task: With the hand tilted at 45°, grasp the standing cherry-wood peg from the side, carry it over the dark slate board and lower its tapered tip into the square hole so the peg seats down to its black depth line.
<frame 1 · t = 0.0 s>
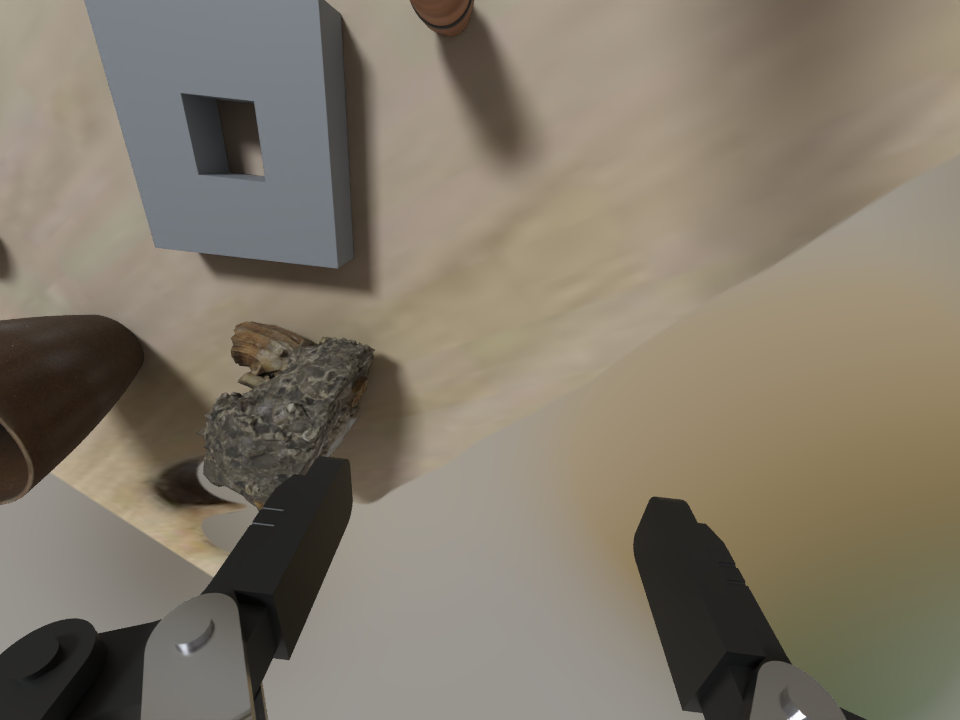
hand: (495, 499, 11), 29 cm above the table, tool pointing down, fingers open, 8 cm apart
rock: (316, 368, 44), on the table
slate socket board: (254, 140, 33), on the table
plant pot: (113, 344, 44), on the table
cherry peg: (449, 8, 28), on the table
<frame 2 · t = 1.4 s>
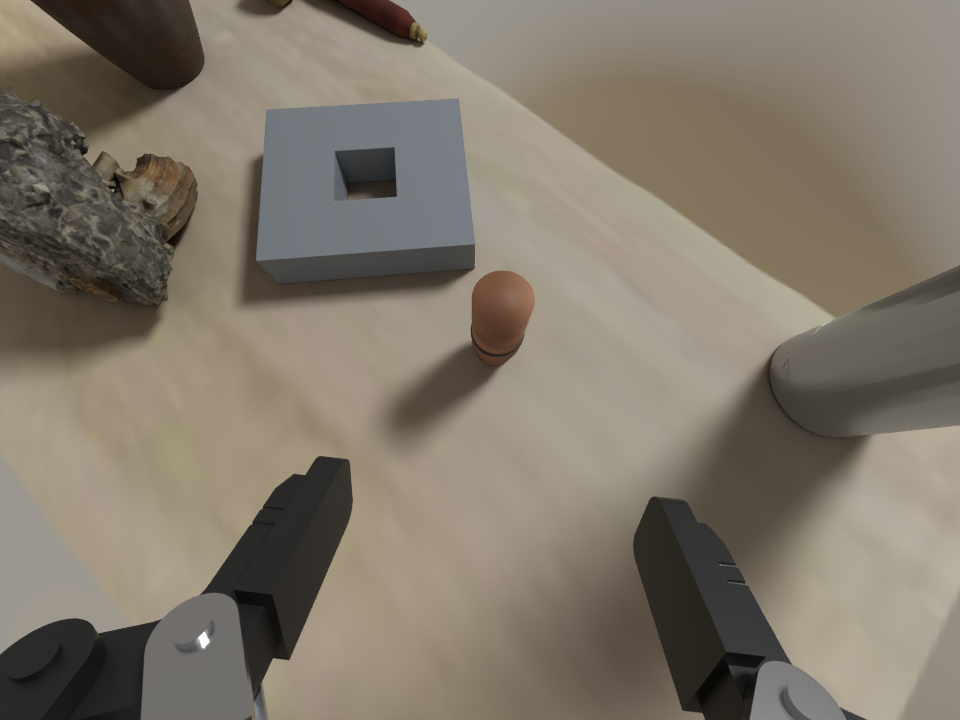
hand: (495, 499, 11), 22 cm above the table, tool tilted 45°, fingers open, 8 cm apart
gavel: (355, 12, 47), on the table
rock: (142, 248, 37), on the table
slate socket board: (375, 203, 39), on the table
plant pot: (171, 67, 43), on the table
cherry peg: (494, 348, 35), on the table
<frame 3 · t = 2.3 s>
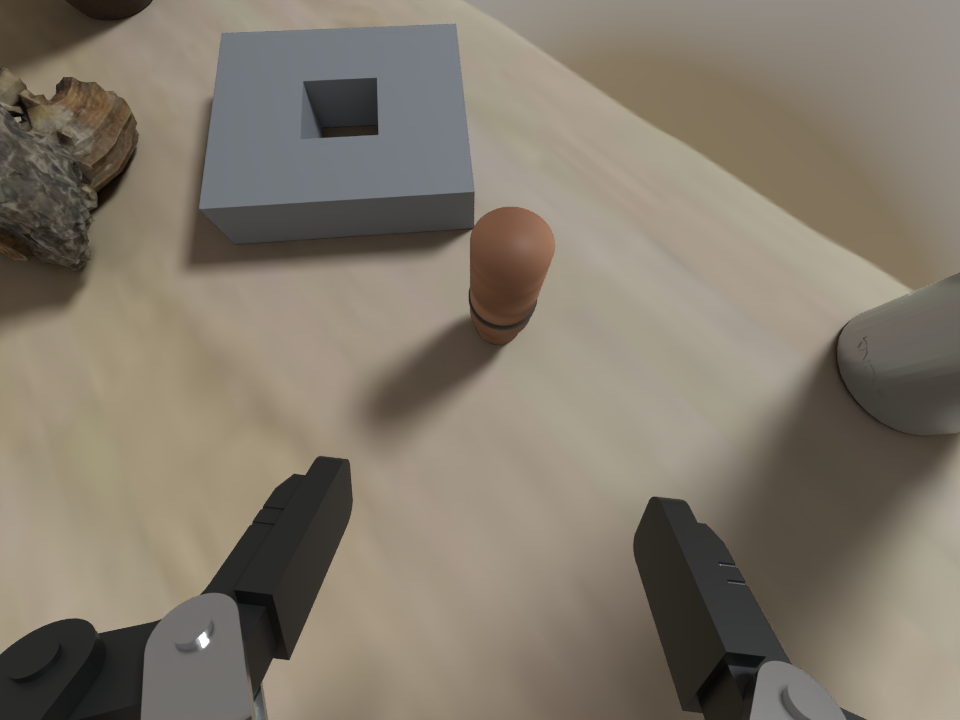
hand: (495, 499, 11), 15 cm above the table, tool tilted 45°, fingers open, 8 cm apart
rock: (69, 201, 30), on the table
slate socket board: (355, 151, 32), on the table
cherry peg: (498, 323, 28), on the table
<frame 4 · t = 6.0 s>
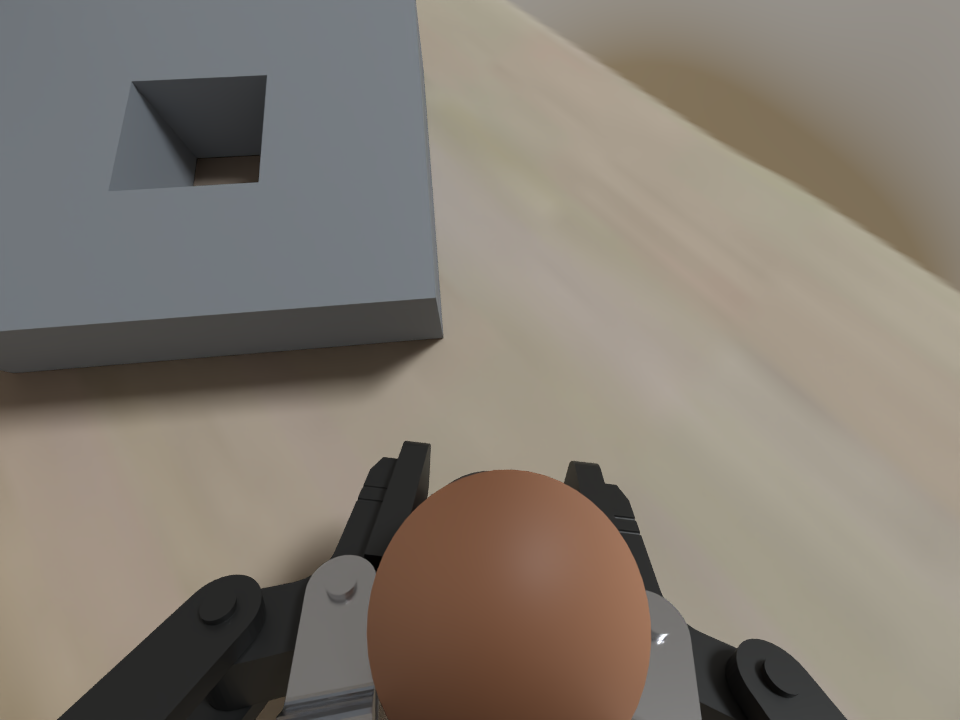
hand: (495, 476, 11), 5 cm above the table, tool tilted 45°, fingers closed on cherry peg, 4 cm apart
slate socket board: (247, 199, 19), on the table
cherry peg: (483, 529, 15), on the table, touching gripper
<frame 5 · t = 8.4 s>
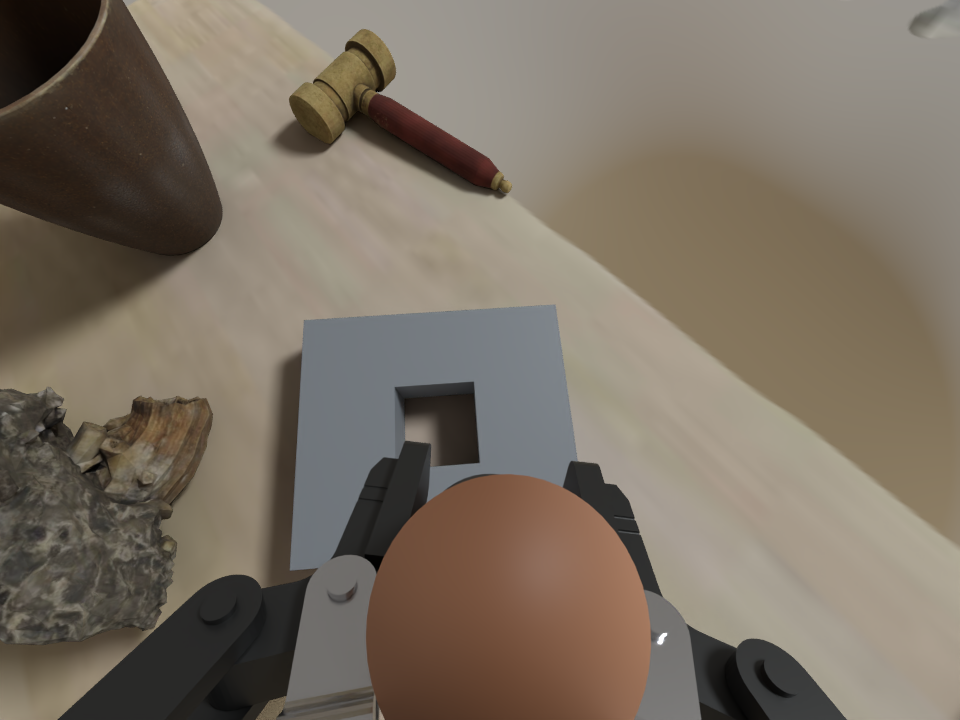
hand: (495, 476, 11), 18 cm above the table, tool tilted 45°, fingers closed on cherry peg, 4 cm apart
gavel: (418, 148, 38), on the table
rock: (137, 492, 28), on the table
slate socket board: (440, 430, 30), on the table
plant pot: (181, 222, 35), on the table
cherry peg: (484, 531, 15), point 14 cm above the table, touching gripper
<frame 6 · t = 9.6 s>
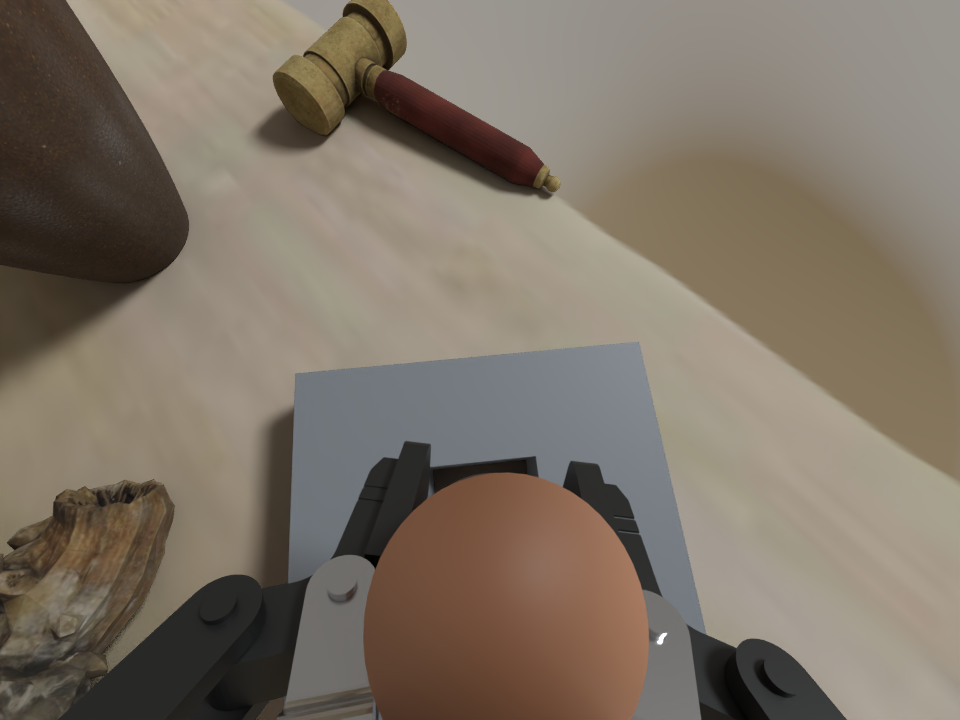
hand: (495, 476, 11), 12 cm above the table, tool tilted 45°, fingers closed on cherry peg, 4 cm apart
gavel: (438, 138, 30), on the table
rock: (73, 614, 21), on the table
slate socket board: (484, 514, 22), on the table
plant pot: (137, 239, 27), on the table
cherry peg: (484, 531, 15), point 7 cm above the table, touching gripper
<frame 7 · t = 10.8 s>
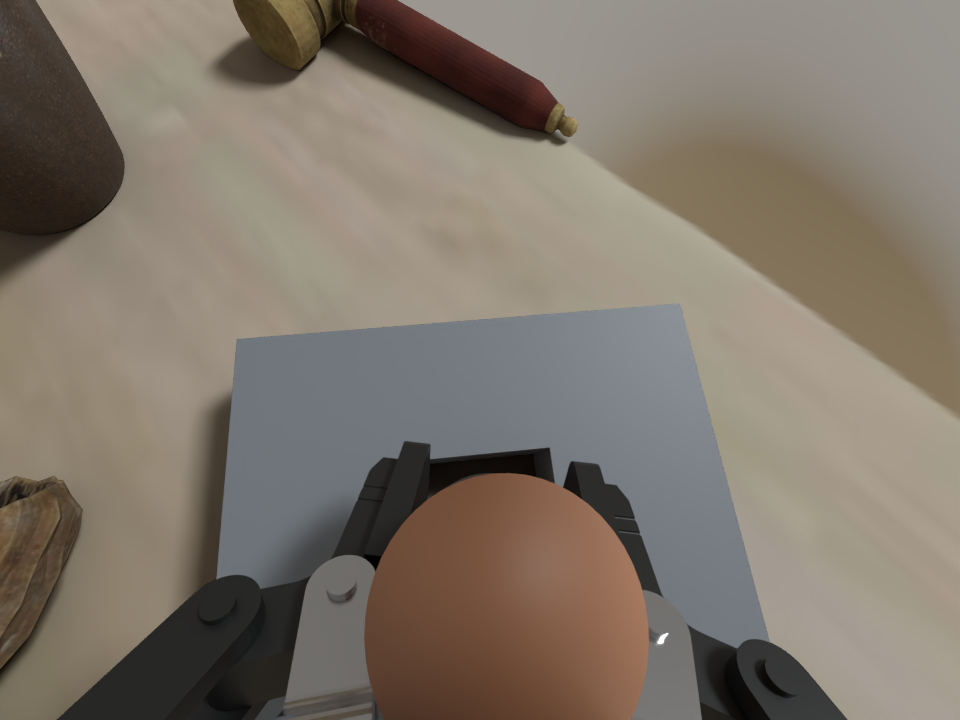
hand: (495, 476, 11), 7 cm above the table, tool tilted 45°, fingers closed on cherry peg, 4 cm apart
gavel: (431, 78, 26), on the table
slate socket board: (481, 521, 17), on the table
plant pot: (60, 184, 22), on the table
cherry peg: (483, 531, 15), point 2 cm above the table, touching gripper
when the fingers open (7 cm above the table, at t = 10.8 s): cherry peg drops 2 cm, resting in slate socket board.
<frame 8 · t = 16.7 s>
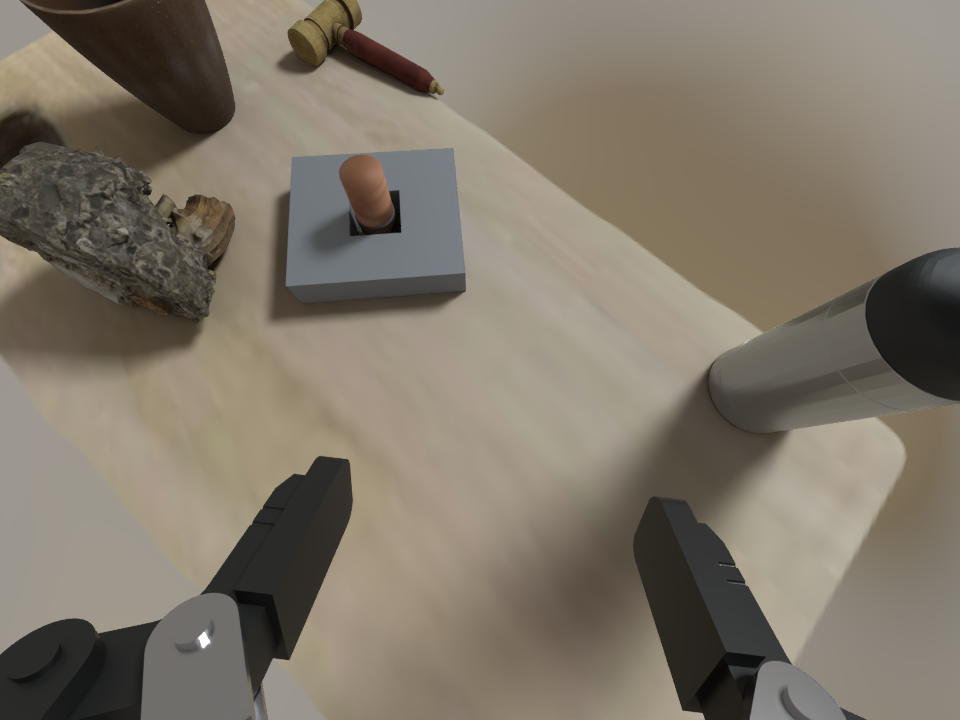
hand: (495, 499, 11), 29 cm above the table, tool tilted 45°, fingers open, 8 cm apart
gavel: (380, 69, 54), on the table
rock: (186, 269, 44), on the table
slate socket board: (382, 234, 46), on the table
plant pot: (207, 113, 51), on the table
cherry peg: (383, 236, 46), resting in slate socket board
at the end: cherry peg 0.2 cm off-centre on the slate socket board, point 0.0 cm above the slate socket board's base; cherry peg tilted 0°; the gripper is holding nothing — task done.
